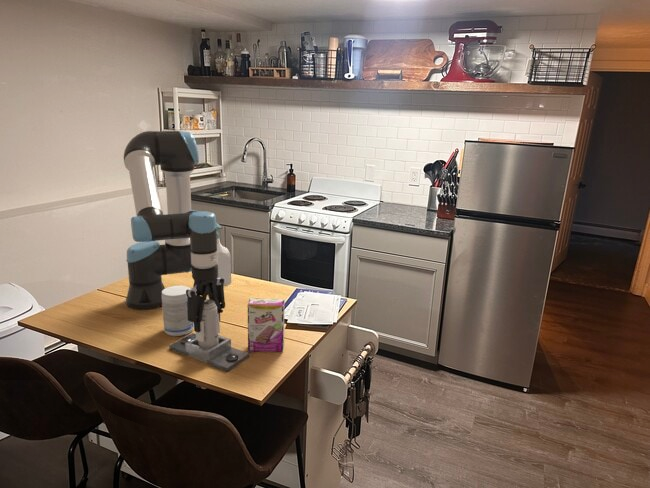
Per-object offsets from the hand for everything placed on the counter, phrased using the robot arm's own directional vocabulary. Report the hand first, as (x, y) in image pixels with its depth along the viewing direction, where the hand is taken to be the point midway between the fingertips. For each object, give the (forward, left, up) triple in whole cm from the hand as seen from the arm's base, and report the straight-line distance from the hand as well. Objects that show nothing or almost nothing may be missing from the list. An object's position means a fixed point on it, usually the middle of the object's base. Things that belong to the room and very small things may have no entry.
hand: (208, 335), depth 143 cm
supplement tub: (-19, +5, -6) cm, 21 cm away
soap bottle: (-37, +43, -6) cm, 57 cm away
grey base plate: (0, 0, -6) cm, 6 cm away
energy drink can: (0, 0, -4) cm, 4 cm away
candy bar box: (+13, +12, -6) cm, 19 cm away
